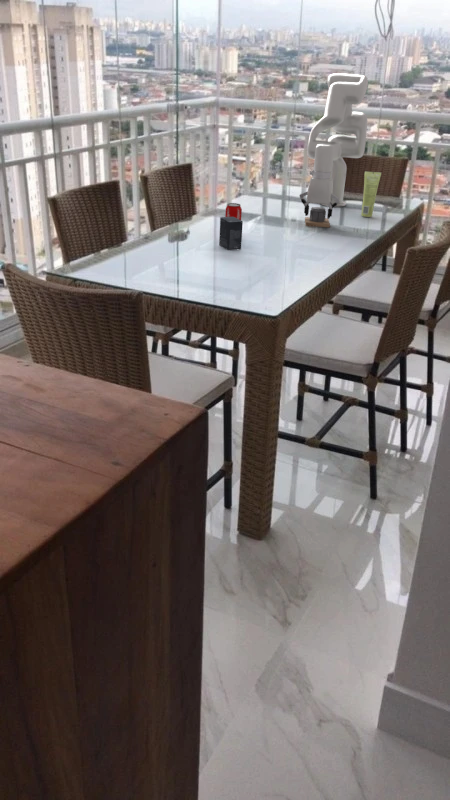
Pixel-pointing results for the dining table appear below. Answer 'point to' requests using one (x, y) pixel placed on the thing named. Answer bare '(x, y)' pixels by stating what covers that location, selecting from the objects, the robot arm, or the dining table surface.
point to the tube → (370, 192)
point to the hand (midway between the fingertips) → (317, 216)
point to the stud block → (317, 223)
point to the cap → (317, 214)
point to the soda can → (233, 210)
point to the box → (230, 233)
